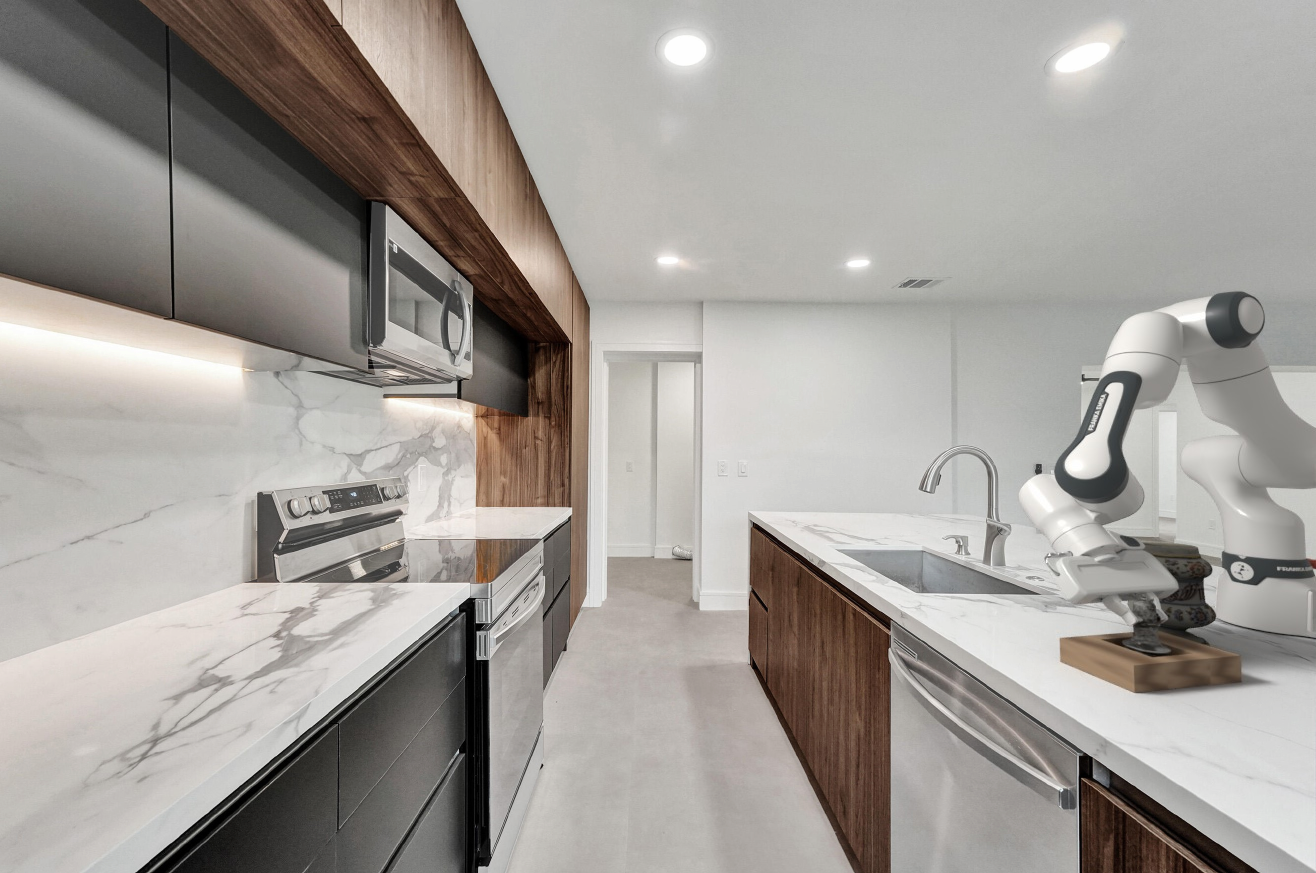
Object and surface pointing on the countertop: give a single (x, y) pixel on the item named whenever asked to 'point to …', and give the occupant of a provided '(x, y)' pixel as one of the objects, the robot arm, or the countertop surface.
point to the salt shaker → (1146, 631)
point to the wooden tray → (1150, 662)
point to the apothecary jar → (1183, 589)
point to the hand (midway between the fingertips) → (1149, 622)
